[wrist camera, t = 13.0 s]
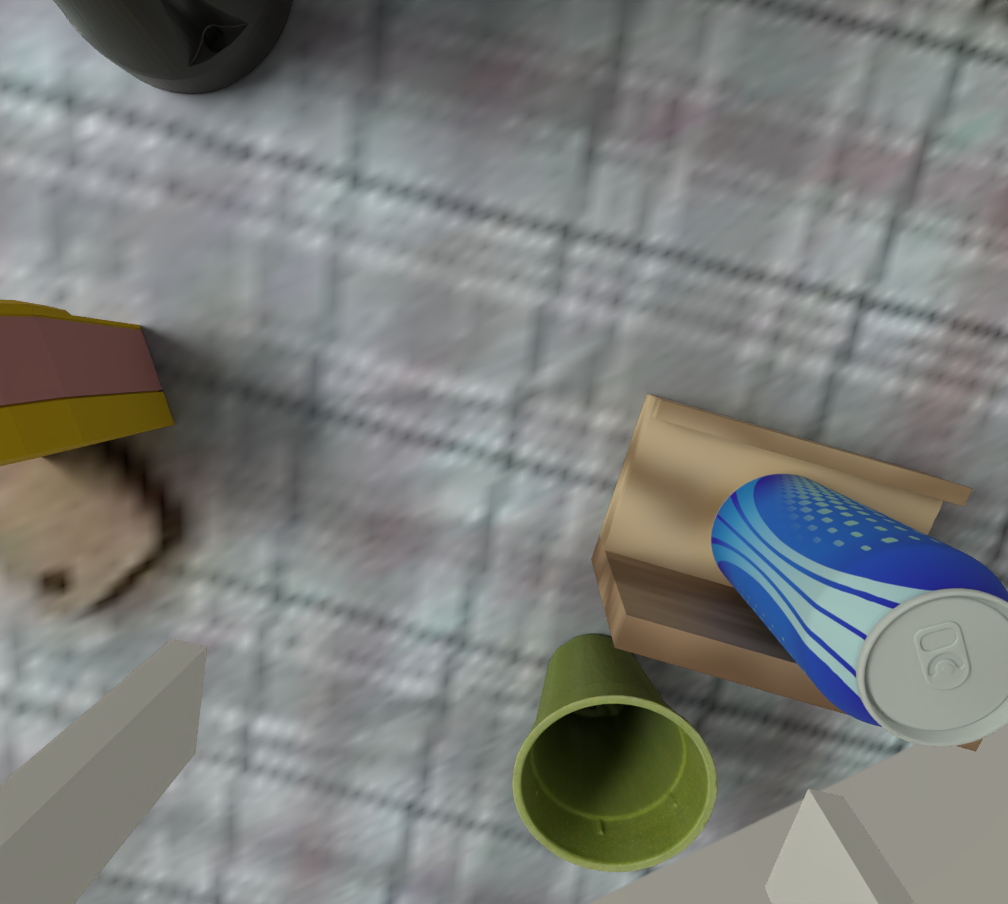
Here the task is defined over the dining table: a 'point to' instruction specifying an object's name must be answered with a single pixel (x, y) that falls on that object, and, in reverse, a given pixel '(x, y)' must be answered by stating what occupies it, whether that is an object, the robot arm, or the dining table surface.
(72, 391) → the alarm clock
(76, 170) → the dining table surface
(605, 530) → the cleat board
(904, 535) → the beer can
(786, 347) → the dining table surface
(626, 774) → the plant pot
